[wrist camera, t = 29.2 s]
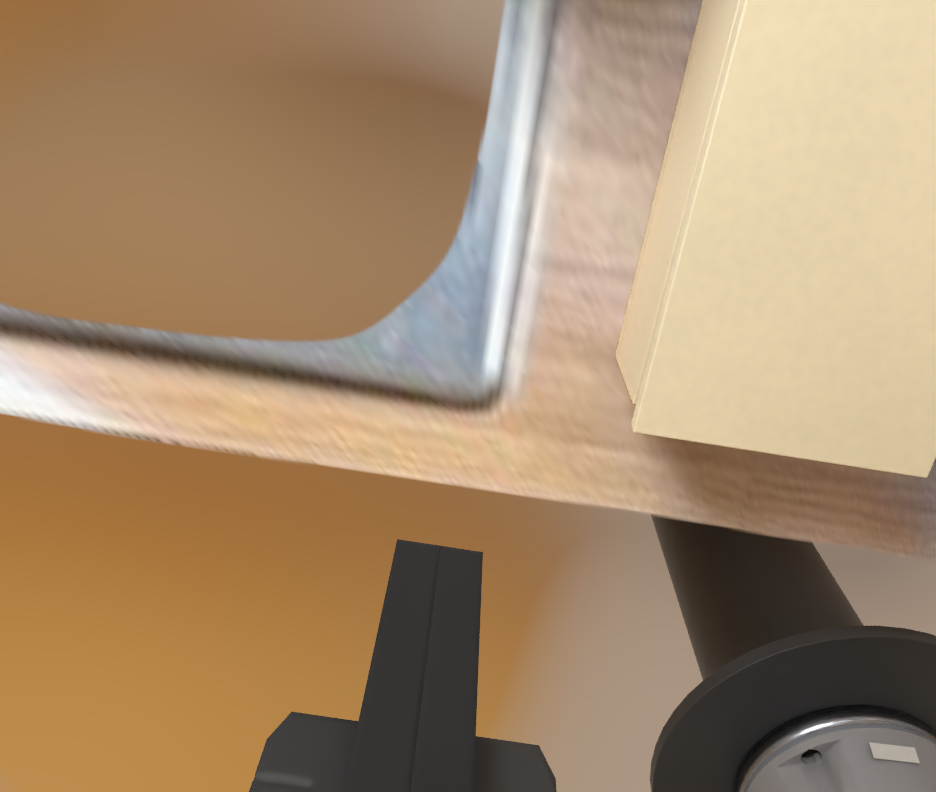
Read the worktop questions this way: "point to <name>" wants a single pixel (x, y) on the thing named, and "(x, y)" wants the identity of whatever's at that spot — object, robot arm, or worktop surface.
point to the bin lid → (809, 245)
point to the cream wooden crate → (674, 187)
